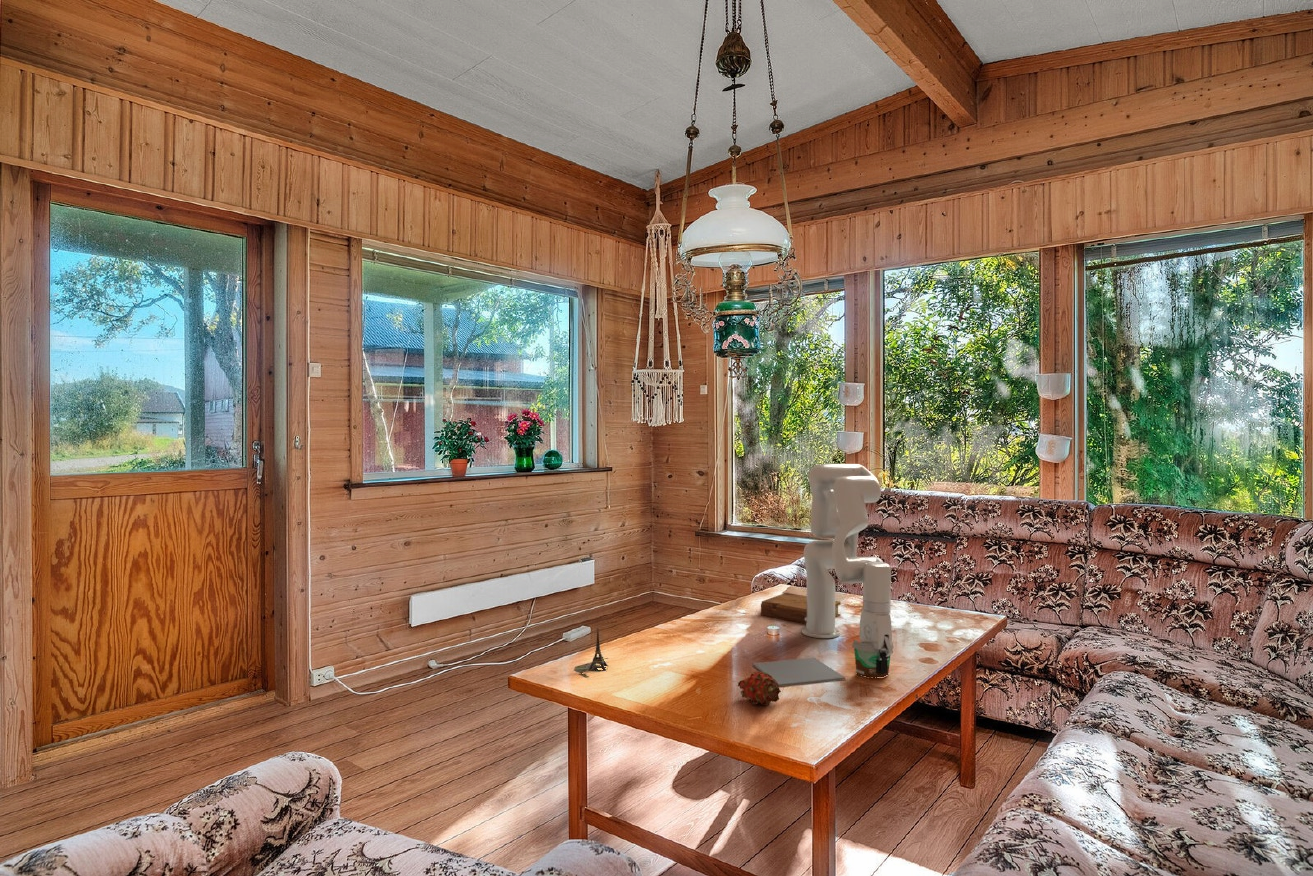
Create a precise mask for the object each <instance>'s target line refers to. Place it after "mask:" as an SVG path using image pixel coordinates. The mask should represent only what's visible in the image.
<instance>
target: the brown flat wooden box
mask: <svg viewBox="0 0 1313 876" xmlns="http://www.w3.org/2000/svg"><path fill="white" fill-rule="evenodd" d="M840 605H841V601H839V600H835V619H836V618H839V617H840V616H841V614H840V613H839V606H840ZM760 615H761V616H764V617H770V618H772V619H773V618H774V619H779V620H785V621H790V622H795V623H801V624H805V625H806V621H805V618H806V617H807V595H802V594H801V595H800V594H797V593H795V594H794V593H792V592H791V593H789V592H784V593H781V594H779V595H775V596H773V597H771V598H767V599H765V600H762V601H761V603H760Z"/></svg>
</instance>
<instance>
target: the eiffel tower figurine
mask: <svg viewBox="0 0 1313 876" xmlns="http://www.w3.org/2000/svg"><path fill="white" fill-rule="evenodd" d="M599 632H600V628H599V627H597V628H596V642H595V643H596V645H595V651H594V652H595V653H594V656H593V658H592V662H588V663H587V662H586V663H584V664H580V665H577V666H574V669H573V671H574V672H575V673H578V675H579V676H582V677H585V678H590V676H588V675H587V673H585V672H600V671H601V670H598V669H597V668H602V669H603V670H602V671H606V669H605V668H606V667H604V666H608V667H609V665H608V663H607V662H605V661H604V659H609V658H608V657H606V658H604V656H603V655H602V650H601V648H600V647H601V645H600V634H599ZM600 665H601V666H600ZM606 672H607V671H606ZM582 673H585V674H582Z"/></svg>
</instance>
